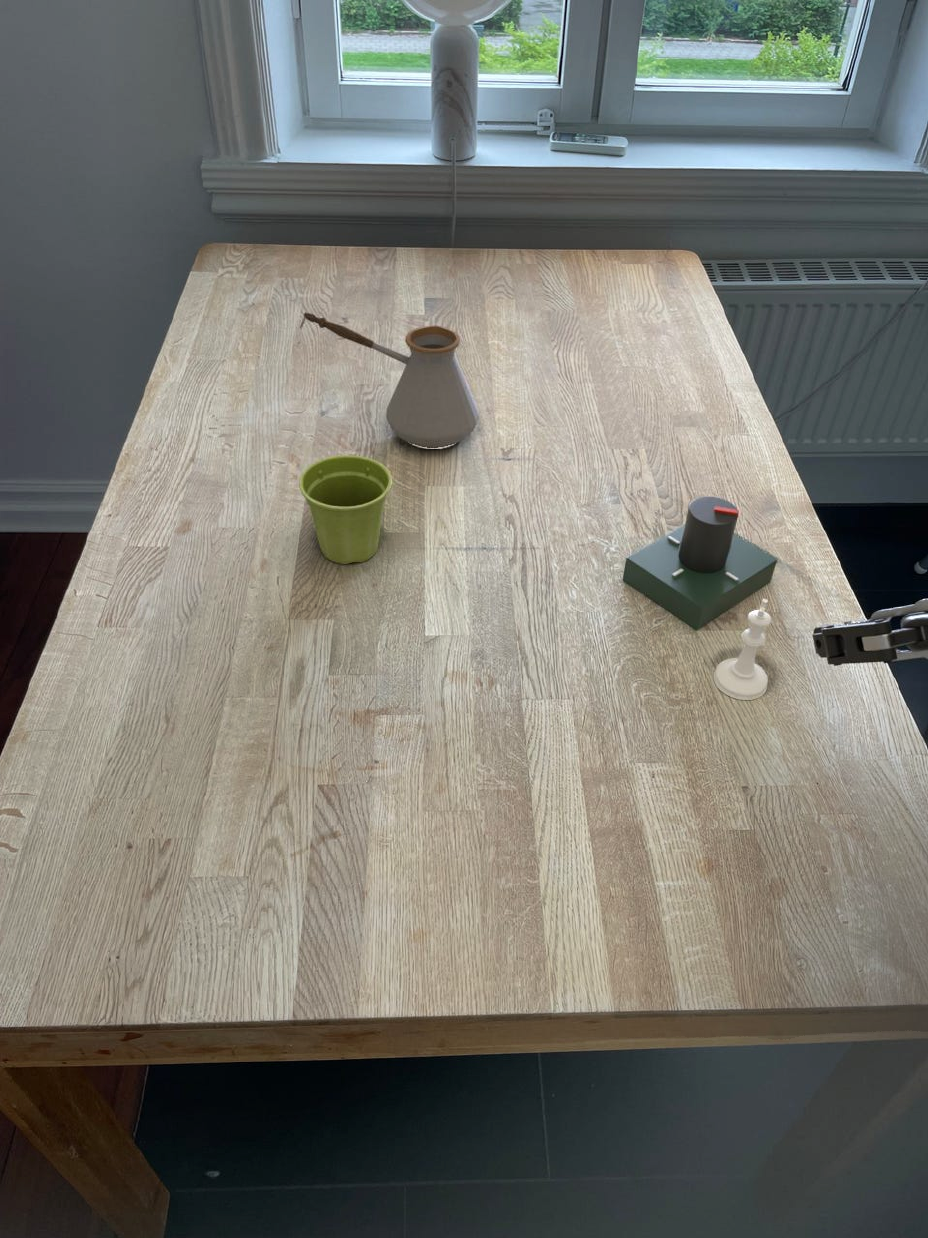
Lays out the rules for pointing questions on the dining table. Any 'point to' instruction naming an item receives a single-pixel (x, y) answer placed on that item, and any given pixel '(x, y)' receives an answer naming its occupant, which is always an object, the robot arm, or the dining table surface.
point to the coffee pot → (424, 386)
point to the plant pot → (346, 505)
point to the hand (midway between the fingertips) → (869, 631)
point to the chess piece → (746, 662)
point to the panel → (697, 578)
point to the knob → (708, 534)
